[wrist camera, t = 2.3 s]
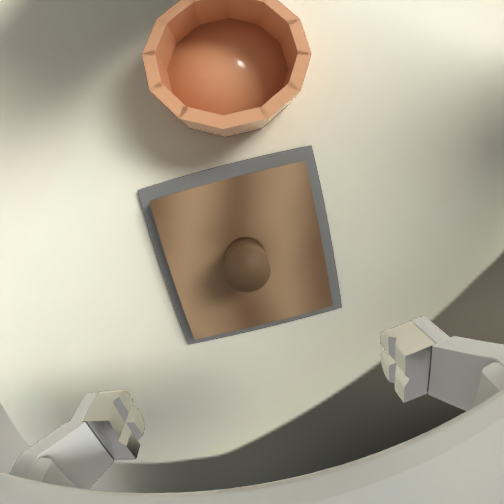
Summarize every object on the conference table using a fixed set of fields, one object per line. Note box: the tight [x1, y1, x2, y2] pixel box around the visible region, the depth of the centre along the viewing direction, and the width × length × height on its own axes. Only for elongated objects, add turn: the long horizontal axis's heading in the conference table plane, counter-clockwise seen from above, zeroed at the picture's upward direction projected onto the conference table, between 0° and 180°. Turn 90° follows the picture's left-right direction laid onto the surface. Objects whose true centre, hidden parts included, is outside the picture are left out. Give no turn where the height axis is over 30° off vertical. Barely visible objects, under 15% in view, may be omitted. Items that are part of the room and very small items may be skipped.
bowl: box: [142, 0, 311, 137], centre depth 18 cm, size 10×10×4 cm
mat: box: [138, 145, 342, 344], centre depth 24 cm, size 13×13×1 cm
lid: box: [149, 161, 333, 339], centre depth 21 cm, size 11×11×4 cm
